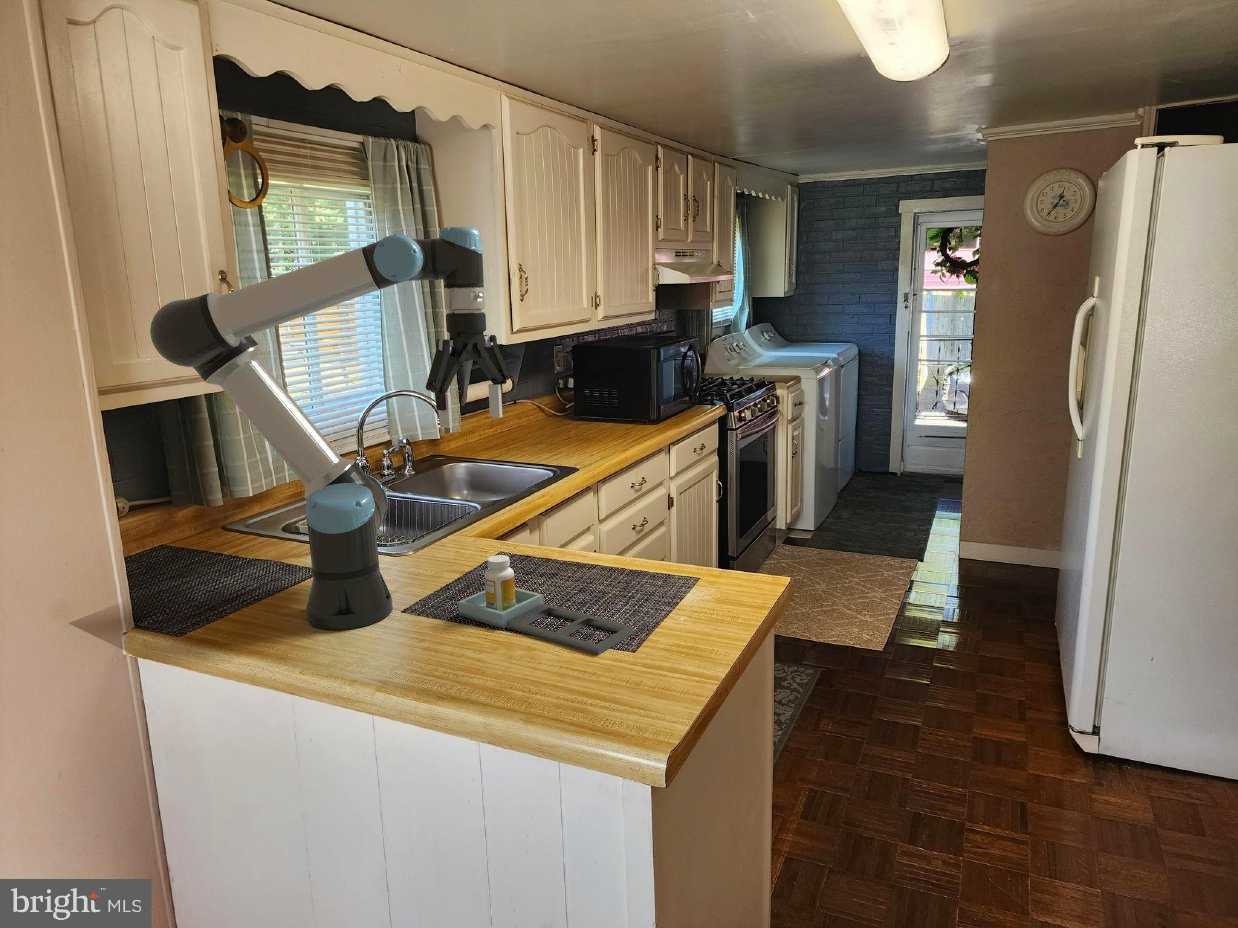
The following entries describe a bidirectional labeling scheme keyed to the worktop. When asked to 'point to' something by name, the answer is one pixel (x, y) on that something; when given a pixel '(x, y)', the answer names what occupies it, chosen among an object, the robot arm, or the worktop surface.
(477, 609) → the tray
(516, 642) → the worktop surface
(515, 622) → the dark grey double frame
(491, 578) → the supplement bottle
